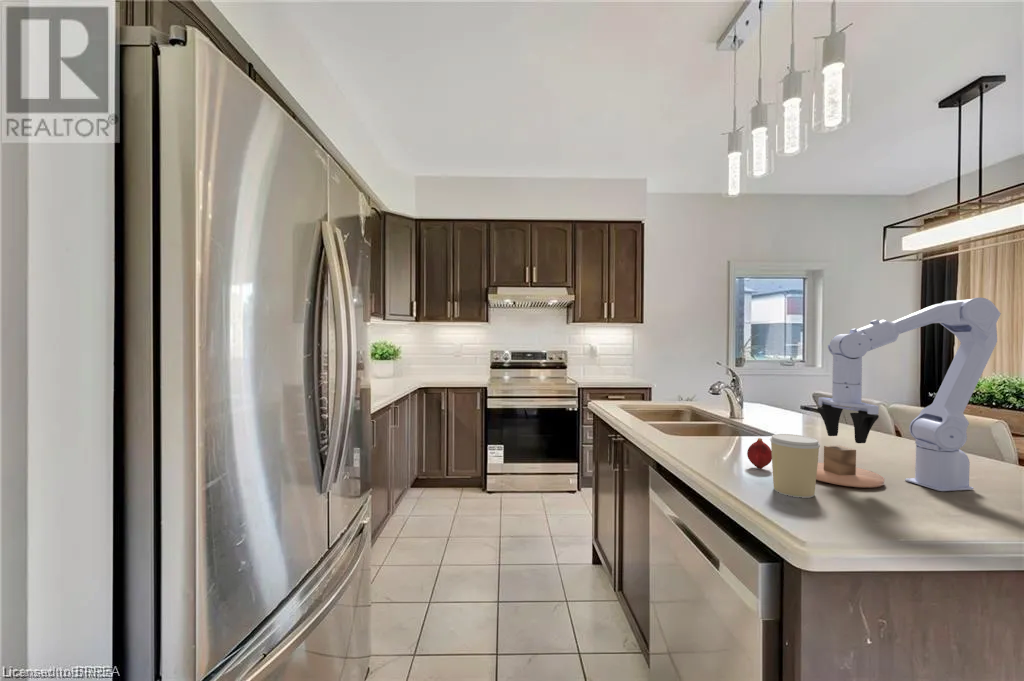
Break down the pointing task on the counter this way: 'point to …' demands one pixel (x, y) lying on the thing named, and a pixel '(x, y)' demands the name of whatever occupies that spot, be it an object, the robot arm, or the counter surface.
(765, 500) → the counter surface
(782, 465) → the coffee cup
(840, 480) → the dish
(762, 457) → the onion
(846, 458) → the block
